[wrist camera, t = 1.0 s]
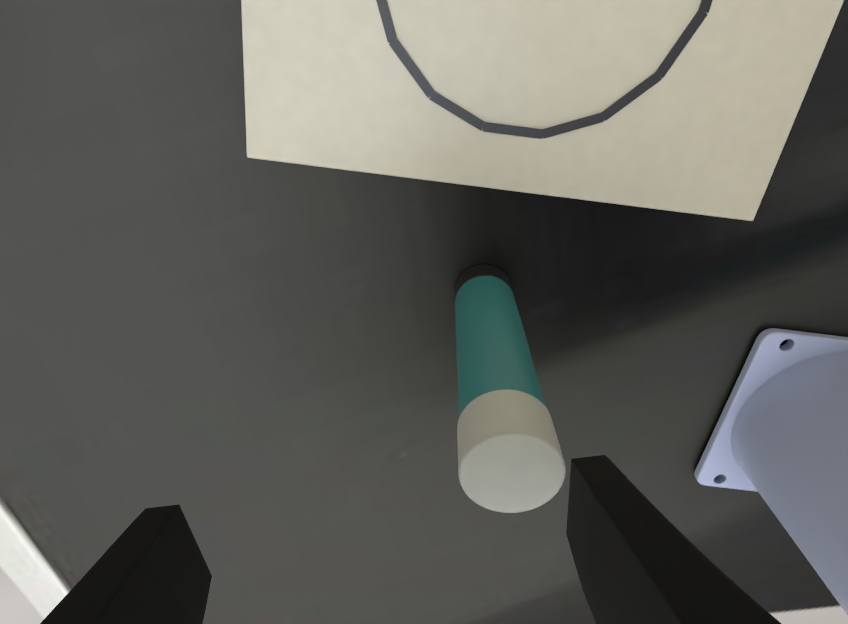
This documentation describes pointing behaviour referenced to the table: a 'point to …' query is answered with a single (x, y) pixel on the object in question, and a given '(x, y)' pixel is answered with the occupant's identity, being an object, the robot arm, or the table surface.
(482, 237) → the table surface
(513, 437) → the marker
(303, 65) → the drawing pad
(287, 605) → the table surface
